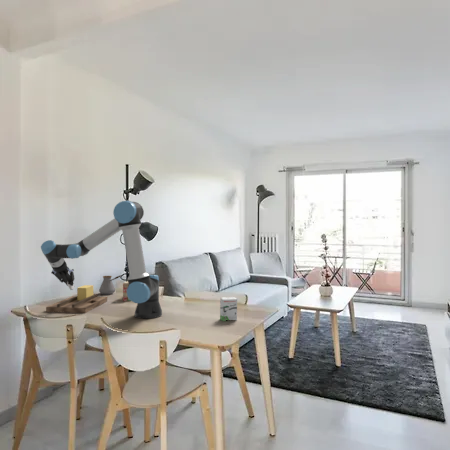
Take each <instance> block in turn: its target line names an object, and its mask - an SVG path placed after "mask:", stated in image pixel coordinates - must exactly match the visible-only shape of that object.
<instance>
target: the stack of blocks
mask: <svg viewBox="0 0 450 450" xmlns="http://www.w3.org/2000/svg"><path fill="white" fill-rule="evenodd" d="M128 286H129V285H128V280H127V281H124V282H123V283H122V302H132V301H131V300H130V299H129V298H128V296H127V288H128Z"/></svg>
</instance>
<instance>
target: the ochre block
mask: <svg viewBox="0 0 450 450" xmlns="http://www.w3.org/2000/svg"><path fill="white" fill-rule="evenodd" d="M76 289H77V290H76V296H77V300H80V301H81V300H83V299H85V298H87V297H90V296H92V295H93V294H94V284H93V285H91V284H84V285H81V286H78V287H77V288H76Z"/></svg>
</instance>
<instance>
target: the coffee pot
mask: <svg viewBox="0 0 450 450" xmlns="http://www.w3.org/2000/svg"><path fill="white" fill-rule="evenodd" d="M112 277H113V276H112V275H103V276H102V278H103V279H102V282H101V285H100V287H99V288H98V289H99V290H98V292H99V293H100V294H101V295H105V296H106V295H113V294H114V293H115V292H116V287H115V285H114V284H113V281H114V280H117V279H119V278H123V277H124V276H123V274H121V275H118V276H115V277H113V278H112Z"/></svg>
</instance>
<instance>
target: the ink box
mask: <svg viewBox="0 0 450 450" xmlns="http://www.w3.org/2000/svg"><path fill="white" fill-rule="evenodd" d="M219 306H220V309H219V319H220V321H222V322H227V321H226V320H235V321H238V298H237V297H234V296H229V297H227V296H226V297H223V296H222V297H220V305H219Z"/></svg>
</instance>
